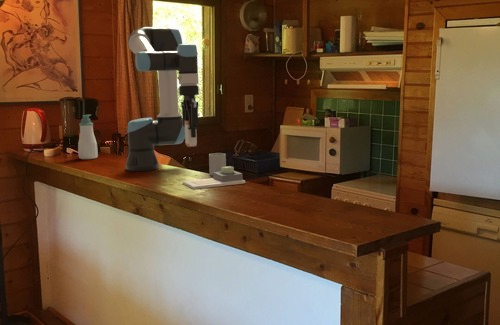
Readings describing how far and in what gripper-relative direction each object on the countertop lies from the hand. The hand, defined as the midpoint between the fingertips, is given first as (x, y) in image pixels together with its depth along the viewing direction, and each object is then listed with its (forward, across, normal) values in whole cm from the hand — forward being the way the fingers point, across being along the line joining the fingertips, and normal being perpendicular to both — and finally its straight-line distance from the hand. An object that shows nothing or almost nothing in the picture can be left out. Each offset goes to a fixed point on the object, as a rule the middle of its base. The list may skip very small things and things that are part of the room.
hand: (191, 145), depth 221 cm
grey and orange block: (0, 0, 0) cm, 0 cm away
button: (+13, +1, +15) cm, 20 cm away
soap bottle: (+14, -97, -24) cm, 101 cm away
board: (+16, +2, +8) cm, 18 cm away
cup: (+16, -17, +17) cm, 29 cm away
